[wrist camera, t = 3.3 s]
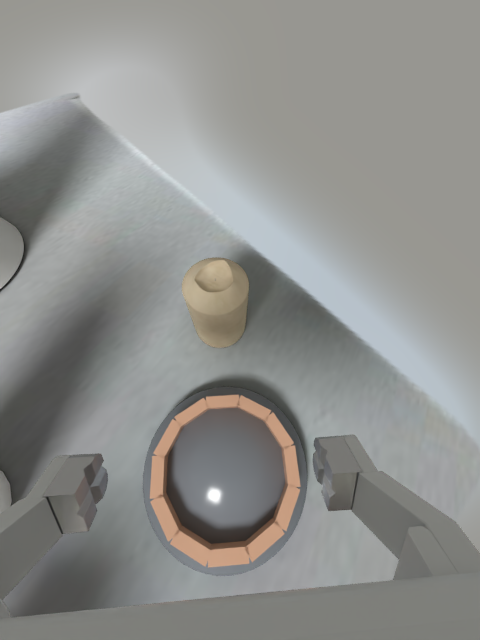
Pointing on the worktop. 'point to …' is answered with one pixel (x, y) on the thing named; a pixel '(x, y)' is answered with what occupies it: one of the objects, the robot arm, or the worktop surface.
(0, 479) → the bottle
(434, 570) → the robot arm
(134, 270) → the worktop surface
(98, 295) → the worktop surface
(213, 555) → the tray
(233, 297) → the candle
